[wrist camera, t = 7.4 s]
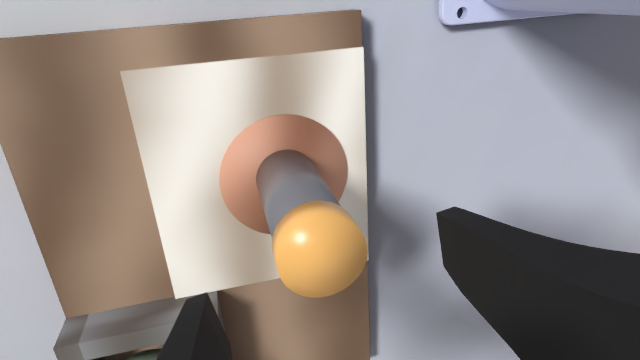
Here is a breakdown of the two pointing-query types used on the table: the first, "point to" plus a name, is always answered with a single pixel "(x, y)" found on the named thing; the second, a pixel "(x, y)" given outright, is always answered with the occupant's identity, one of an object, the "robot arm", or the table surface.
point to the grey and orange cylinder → (308, 227)
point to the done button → (145, 355)
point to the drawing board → (185, 176)
